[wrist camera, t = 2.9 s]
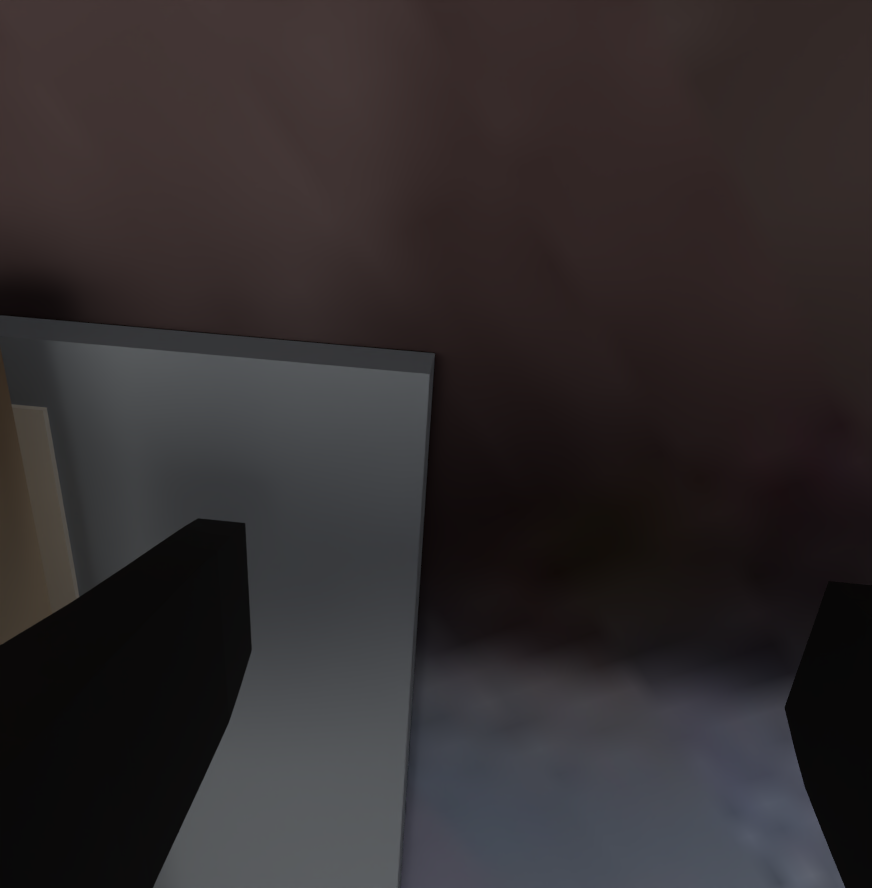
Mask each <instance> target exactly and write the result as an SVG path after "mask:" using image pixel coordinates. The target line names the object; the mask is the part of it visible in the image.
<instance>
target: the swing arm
mask: <svg viewBox="0 0 872 888" xmlns="http://www.w3.org/2000/svg"><path fill="white" fill-rule="evenodd" d="M51 614H52V610H51V605H50V600H49V595H48V590H47V585H46V579H45V574H44V569H43V564H42V559H41V554H40V548H39V543H38V538H37V533H36V528H35V523H34V518H33V512H32V507H31V502H30V497H29V492H28V487H27V482H26V476H25V471H24V466H23V461H22V456H21V451H20V445H19V440H18V435H17V430H16V425H15V420H14V415H13V409H12V404H11V399H10V394H9V389H8V384H7V379H6V373H5V368H4V363H3V358H2V353H1V348H0V645H1V644H3V643H5V642H6V641H8V640H10V639H11V638H13V637H15V636H16V635H18V634H20V633H21V632H23V631H25V630H26V629H28V628H30V627H31V626H33V625H34V624H36V623H38V622H39V621H41V620H43V619H44V618H46V617H48V616H49V615H51Z"/></svg>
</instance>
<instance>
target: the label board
mask: <svg viewBox="0 0 872 888" xmlns="http://www.w3.org/2000/svg"><path fill="white" fill-rule="evenodd" d="M0 348H1V353H2V358H3V363H4V368H5V373H6V379H7V384H8V389H9V394H10V399H11V404H12V409H13V415H14V420H15V425H16V430H17V435H18V440H19V445H20V451H21V456H22V461H23V466H24V471H25V476H26V482H27V487H28V492H29V497H30V502H31V507H32V512H33V518H34V523H35V528H36V533H37V538H38V543H39V548H40V554H41V559H42V564H43V569H44V574H45V579H46V585H47V590H48V595H49V600H50V605H51V610H52V614H53V613H54V612H56V611H58V610H59V609H61V608H63V607H64V606H66V605H68V604H69V603H71V602H72V601H74V600H75V599H77V598H78V597H80V596H81V595H83V594H84V593H86V592H88V591H89V590H91V589H92V588H94V587H95V586H97V585H98V584H100V583H101V582H103V581H104V580H106V579H107V578H109V577H110V576H112V575H113V574H115V573H116V572H118V571H119V570H121V569H122V568H124V567H125V566H127V565H128V564H130V563H131V562H133V561H134V560H136V559H137V558H138V557H140V556H141V555H143V554H144V553H146V552H147V551H149V550H150V549H152V548H153V547H155V546H156V545H157V544H159V543H160V542H162V541H163V540H165V539H166V538H168V537H169V536H171V535H172V534H174V533H175V532H177V531H178V530H180V529H181V528H183V527H184V526H186V525H188V524H189V523H191V522H193V521H194V520H196V519H198V518H201V519H211V520H221V521H231V522H241V523H245V527H246V546H247V565H248V585H249V604H250V624H251V643H252V651H251V655H250V658H249V661H248V664H247V668H246V671H245V674H244V678H243V681H242V684H241V687H240V691H239V694H238V697H237V700H236V703H235V706H234V709H233V712H232V715H231V718H230V721H229V724H228V726H227V728H226V730H225V733H224V735H223V737H222V739H221V741H220V744H219V746H218V748H217V750H216V752H215V755H214V757H213V759H212V761H211V763H210V766H209V768H208V770H207V772H206V774H205V777H204V779H203V781H202V783H201V785H200V787H199V790H198V792H197V794H196V796H195V798H194V800H193V802H192V805H191V807H190V809H189V811H188V813H187V815H186V818H185V820H184V822H183V824H182V826H181V828H180V830H179V833H178V835H177V837H176V839H175V841H174V843H173V846H172V848H171V850H170V852H169V854H168V856H167V858H166V861H165V863H164V865H163V867H162V869H161V871H160V874H159V876H158V878H157V880H156V882H155V884H154V887H153V888H400V882H401V866H402V851H403V835H404V820H405V805H406V789H407V774H408V759H409V743H410V728H411V713H412V697H413V682H414V667H415V651H416V636H417V621H418V605H419V590H420V574H421V559H422V544H423V528H424V513H425V498H426V482H427V467H428V452H429V436H430V421H431V406H432V390H433V375H434V360H435V353H425V352H414V351H403V350H391V349H380V348H368V347H357V346H345V345H334V344H323V343H311V342H300V341H288V340H277V339H266V338H254V337H243V336H231V335H220V334H209V333H197V332H186V331H174V330H163V329H151V328H140V327H129V326H117V325H106V324H94V323H83V322H72V321H60V320H49V319H37V318H26V317H14V316H3V315H0Z"/></svg>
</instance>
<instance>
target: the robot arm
mask: <svg viewBox="0 0 872 888" xmlns="http://www.w3.org/2000/svg"><path fill="white" fill-rule="evenodd" d="M251 651H252V643H251V624H250V604H249V585H248V565H247V546H246V527H245V523H241V522H231V521H221V520H211V519H201V518H198V519H196V520H194V521H193V522H191V523H189V524H188V525H186V526H184V527H183V528H181V529H180V530H178V531H177V532H175V533H174V534H172V535H171V536H169V537H168V538H166V539H165V540H163V541H162V542H160V543H159V544H157V545H156V546H155V547H153V548H152V549H150V550H149V551H147V552H146V553H144V554H143V555H141V556H140V557H138V558H137V559H136V560H134V561H133V562H131V563H130V564H128V565H127V566H125V567H124V568H122V569H121V570H119V571H118V572H116V573H115V574H113V575H112V576H110V577H109V578H107V579H106V580H104V581H103V582H101V583H100V584H98V585H97V586H95V587H94V588H92V589H91V590H89V591H88V592H86V593H84V594H83V595H81V596H80V597H78V598H77V599H75V600H74V601H72V602H71V603H69V604H68V605H66V606H64V607H63V608H61V609H59V610H58V611H56V612H54V613H53V614H51V615H49V616H48V617H46V618H44V619H43V620H41V621H39V622H38V623H36V624H34V625H33V626H31V627H30V628H28V629H26V630H25V631H23V632H21V633H20V634H18V635H16V636H15V637H13V638H11V639H10V640H8V641H6V642H5V643H3V644H1V645H0V888H153V887H154V884H155V882H156V880H157V878H158V876H159V874H160V871H161V869H162V867H163V865H164V863H165V861H166V858H167V856H168V854H169V852H170V850H171V848H172V846H173V843H174V841H175V839H176V837H177V835H178V833H179V830H180V828H181V826H182V824H183V822H184V820H185V818H186V815H187V813H188V811H189V809H190V807H191V805H192V802H193V800H194V798H195V796H196V794H197V792H198V790H199V787H200V785H201V783H202V781H203V779H204V777H205V774H206V772H207V770H208V768H209V766H210V763H211V761H212V759H213V757H214V755H215V752H216V750H217V748H218V746H219V744H220V741H221V739H222V737H223V735H224V733H225V730H226V728H227V726H228V724H229V721H230V718H231V715H232V712H233V709H234V706H235V703H236V700H237V697H238V694H239V691H240V687H241V684H242V681H243V678H244V674H245V671H246V668H247V664H248V661H249V658H250V655H251ZM785 711H786V715H787V719H788V724H789V728H790V732H791V736H792V740H793V744H794V749H795V752H796V756H797V760H798V763H799V767H800V771H801V774H802V778H803V782H804V785H805V788H806V791H807V793H808V796H809V798H810V801H811V804H812V806H813V809H814V811H815V814H816V816H817V819H818V821H819V824H820V826H821V829H822V831H823V834H824V836H825V839H826V841H827V844H828V846H829V849H830V851H831V854H832V856H833V859H834V861H835V864H836V866H837V869H838V871H839V873H840V876H841V878H842V881H843V883H844V886H845V888H872V586H870V585H860V584H850V583H840V582H830V581H829V582H828V585H827V588H826V591H825V594H824V597H823V599H822V602H821V605H820V608H819V611H818V614H817V616H816V619H815V622H814V625H813V628H812V631H811V634H810V636H809V639H808V642H807V645H806V648H805V651H804V654H803V656H802V659H801V662H800V665H799V668H798V671H797V674H796V676H795V679H794V682H793V685H792V688H791V691H790V694H789V696H788V699H787V702H786V705H785Z"/></svg>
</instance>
